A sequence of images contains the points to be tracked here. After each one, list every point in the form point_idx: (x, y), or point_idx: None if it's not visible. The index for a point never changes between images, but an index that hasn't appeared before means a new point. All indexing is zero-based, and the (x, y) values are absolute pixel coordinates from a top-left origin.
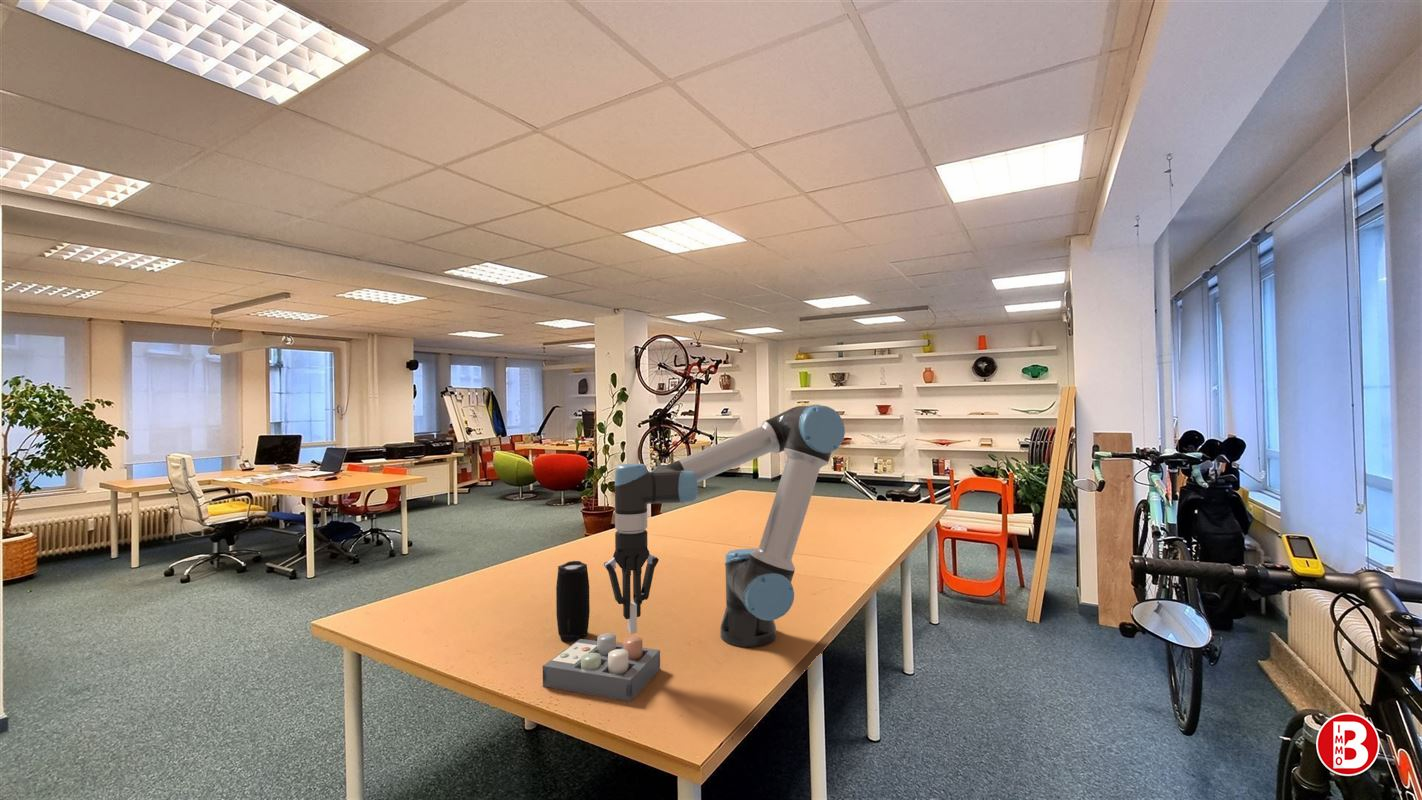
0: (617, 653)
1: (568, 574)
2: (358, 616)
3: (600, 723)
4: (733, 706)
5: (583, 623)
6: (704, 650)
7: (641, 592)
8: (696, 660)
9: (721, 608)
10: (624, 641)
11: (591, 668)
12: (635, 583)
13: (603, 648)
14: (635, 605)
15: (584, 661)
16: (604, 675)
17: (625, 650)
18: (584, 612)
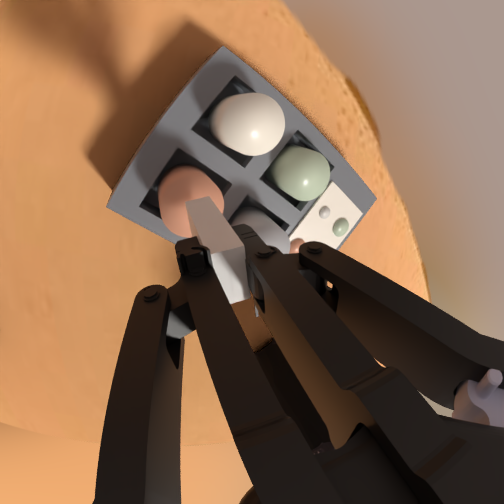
0: (257, 124)
1: None
2: None
3: (282, 12)
4: (15, 8)
5: (273, 362)
6: (16, 265)
7: (180, 342)
8: (29, 220)
9: (26, 404)
10: (220, 207)
11: (302, 147)
12: (253, 360)
13: (270, 219)
14: (214, 250)
15: (325, 158)
16: (280, 95)
17: (228, 138)
18: (279, 378)
